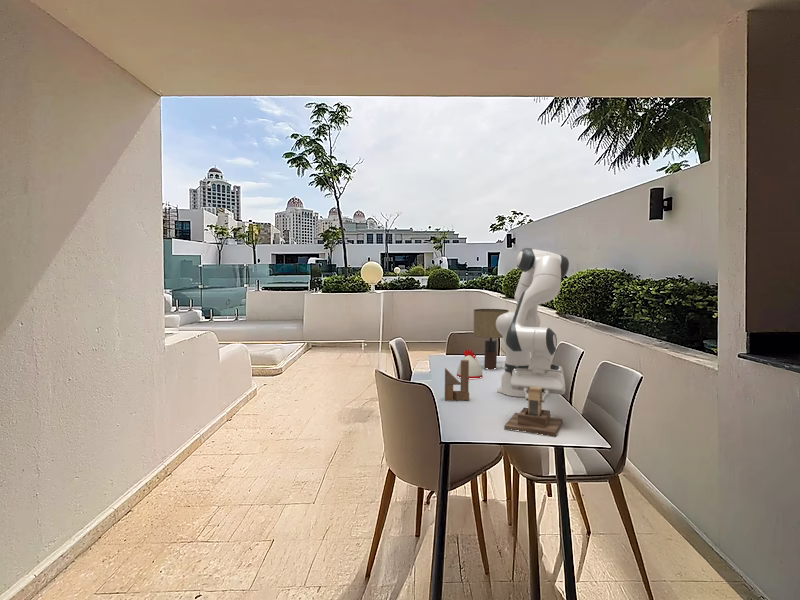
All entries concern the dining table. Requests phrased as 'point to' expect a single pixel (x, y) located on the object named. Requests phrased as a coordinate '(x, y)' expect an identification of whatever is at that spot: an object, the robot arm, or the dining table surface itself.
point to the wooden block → (457, 383)
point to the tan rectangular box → (534, 401)
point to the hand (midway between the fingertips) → (534, 400)
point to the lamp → (488, 332)
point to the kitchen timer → (471, 365)
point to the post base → (534, 423)
